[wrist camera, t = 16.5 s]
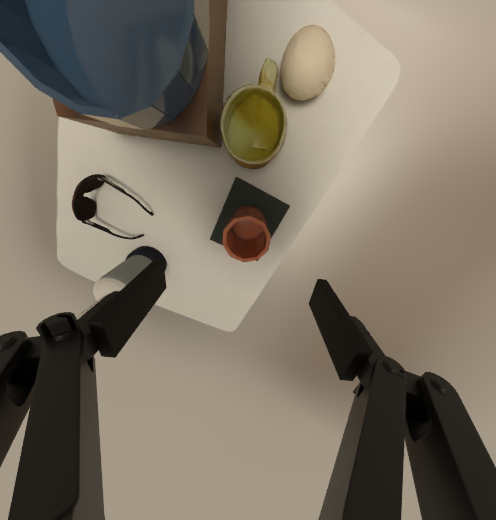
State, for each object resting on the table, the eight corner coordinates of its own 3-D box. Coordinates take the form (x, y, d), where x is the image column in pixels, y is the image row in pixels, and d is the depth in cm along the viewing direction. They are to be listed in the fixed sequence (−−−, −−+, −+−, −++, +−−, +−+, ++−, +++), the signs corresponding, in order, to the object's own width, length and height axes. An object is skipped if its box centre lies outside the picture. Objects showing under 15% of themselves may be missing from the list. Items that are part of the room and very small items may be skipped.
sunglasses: (98, 166, 33) (78, 168, 29) (160, 203, 38) (151, 209, 33) (85, 212, 37) (66, 220, 33) (143, 240, 42) (133, 250, 37)
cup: (268, 207, 36) (274, 219, 27) (262, 243, 39) (265, 264, 30) (231, 202, 35) (224, 212, 26) (228, 239, 39) (221, 259, 30)
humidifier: (130, 268, 44) (1, 370, 21) (135, 240, 40) (-13, 327, 18) (162, 280, 45) (73, 388, 23) (170, 254, 42) (74, 351, 19)
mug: (267, 189, 33) (261, 170, 23) (222, 162, 34) (198, 133, 24) (306, 124, 30) (317, 70, 20) (256, 97, 31) (243, 34, 21)
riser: (227, -11, 24) (209, -141, 14) (220, 147, 32) (206, 137, 22) (90, -34, 23) (-32, -187, 13) (119, 133, 31) (57, 115, 21)
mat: (236, 176, 34) (235, 177, 33) (289, 205, 36) (289, 206, 35) (210, 238, 40) (209, 239, 39) (257, 260, 42) (257, 261, 41)
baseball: (311, 114, 29) (327, 100, 23) (271, 96, 28) (276, 75, 22) (333, 60, 26) (357, 28, 20) (289, 37, 25) (300, -4, 19)
